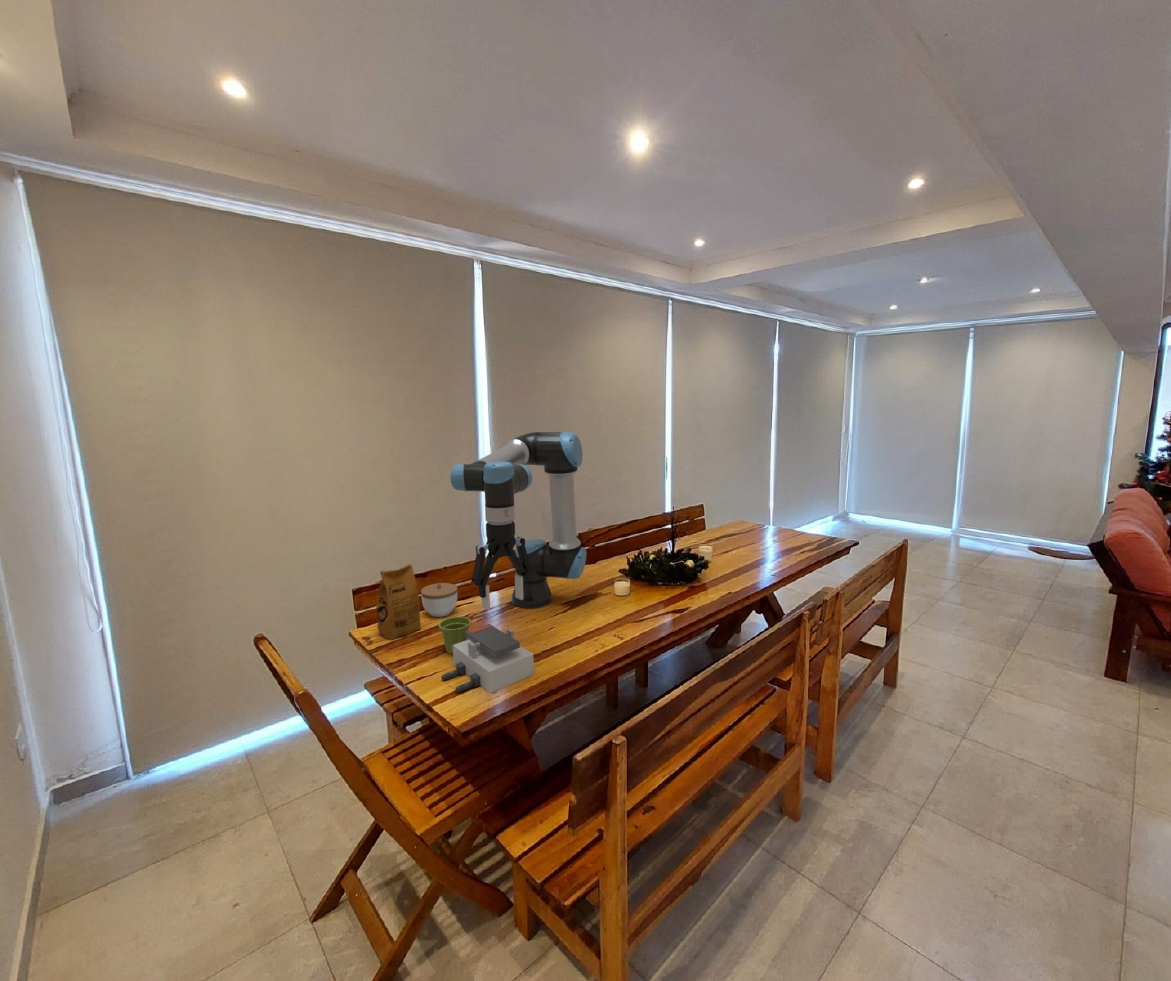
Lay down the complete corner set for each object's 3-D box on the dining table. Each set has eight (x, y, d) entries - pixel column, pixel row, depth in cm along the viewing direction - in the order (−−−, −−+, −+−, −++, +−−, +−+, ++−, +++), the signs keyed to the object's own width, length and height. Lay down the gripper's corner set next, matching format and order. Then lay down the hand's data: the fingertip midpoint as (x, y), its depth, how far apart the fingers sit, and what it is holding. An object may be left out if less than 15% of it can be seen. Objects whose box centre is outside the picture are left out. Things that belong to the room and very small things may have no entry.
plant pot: (434, 649, 156) (433, 622, 155) (461, 639, 163) (460, 613, 162) (450, 660, 150) (448, 632, 148) (477, 649, 156) (476, 622, 155)
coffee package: (374, 633, 168) (369, 569, 164) (410, 621, 177) (405, 560, 173) (388, 642, 161) (383, 576, 157) (424, 630, 170) (420, 566, 166)
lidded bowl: (419, 610, 186) (417, 581, 185) (454, 603, 192) (452, 575, 190) (425, 623, 175) (423, 592, 173) (462, 616, 181) (460, 586, 179)
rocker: (493, 627, 152) (492, 622, 152) (523, 646, 141) (523, 640, 140) (461, 638, 146) (460, 632, 145) (490, 659, 134) (490, 652, 133)
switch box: (495, 649, 156) (494, 618, 155) (533, 674, 142) (533, 641, 140) (432, 672, 143) (430, 639, 141) (467, 703, 128) (465, 667, 127)
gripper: (468, 531, 122) (472, 619, 126) (543, 517, 137) (545, 596, 141) (454, 526, 128) (458, 610, 131) (527, 513, 142) (529, 589, 146)
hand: (503, 603), depth 136 cm, fingers open, 10 cm apart
